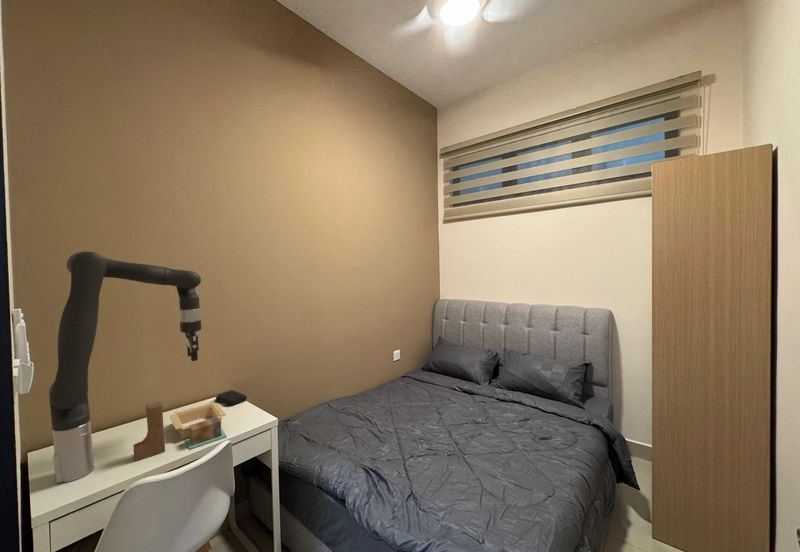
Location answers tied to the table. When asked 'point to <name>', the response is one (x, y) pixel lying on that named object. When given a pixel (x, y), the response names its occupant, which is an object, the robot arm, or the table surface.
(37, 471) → the table surface
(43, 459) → the table surface
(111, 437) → the table surface
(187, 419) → the carton
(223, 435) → the mat
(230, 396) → the carrying case or bag
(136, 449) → the wooden block
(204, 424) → the box
